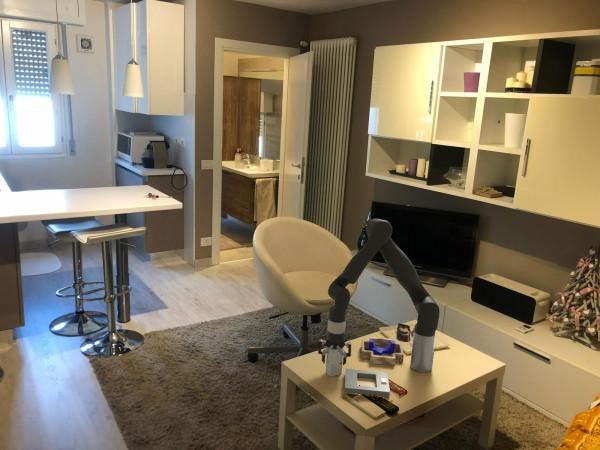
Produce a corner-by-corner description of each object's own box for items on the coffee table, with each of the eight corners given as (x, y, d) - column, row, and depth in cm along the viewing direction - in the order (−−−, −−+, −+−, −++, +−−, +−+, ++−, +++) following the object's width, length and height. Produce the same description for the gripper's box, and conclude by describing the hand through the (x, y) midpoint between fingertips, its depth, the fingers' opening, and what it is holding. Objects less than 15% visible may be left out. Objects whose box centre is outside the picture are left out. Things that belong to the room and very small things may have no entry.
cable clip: (368, 354, 236) (369, 343, 234) (368, 350, 240) (369, 338, 239) (394, 356, 235) (395, 345, 233) (393, 352, 239) (394, 340, 238)
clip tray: (400, 346, 245) (400, 339, 244) (403, 366, 227) (404, 359, 226) (361, 342, 247) (361, 336, 246) (361, 362, 228) (362, 355, 227)
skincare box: (329, 377, 215) (331, 351, 212) (325, 371, 219) (326, 346, 216) (342, 374, 217) (344, 349, 214) (337, 369, 221) (339, 344, 218)
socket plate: (386, 378, 216) (387, 371, 215) (389, 398, 201) (390, 390, 200) (345, 374, 217) (345, 367, 216) (344, 394, 203) (345, 386, 202)
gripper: (353, 326, 216) (350, 360, 220) (320, 323, 217) (318, 357, 221) (352, 334, 209) (350, 369, 213) (319, 331, 210) (316, 366, 214)
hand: (333, 363), depth 217 cm, fingers open, 8 cm apart
